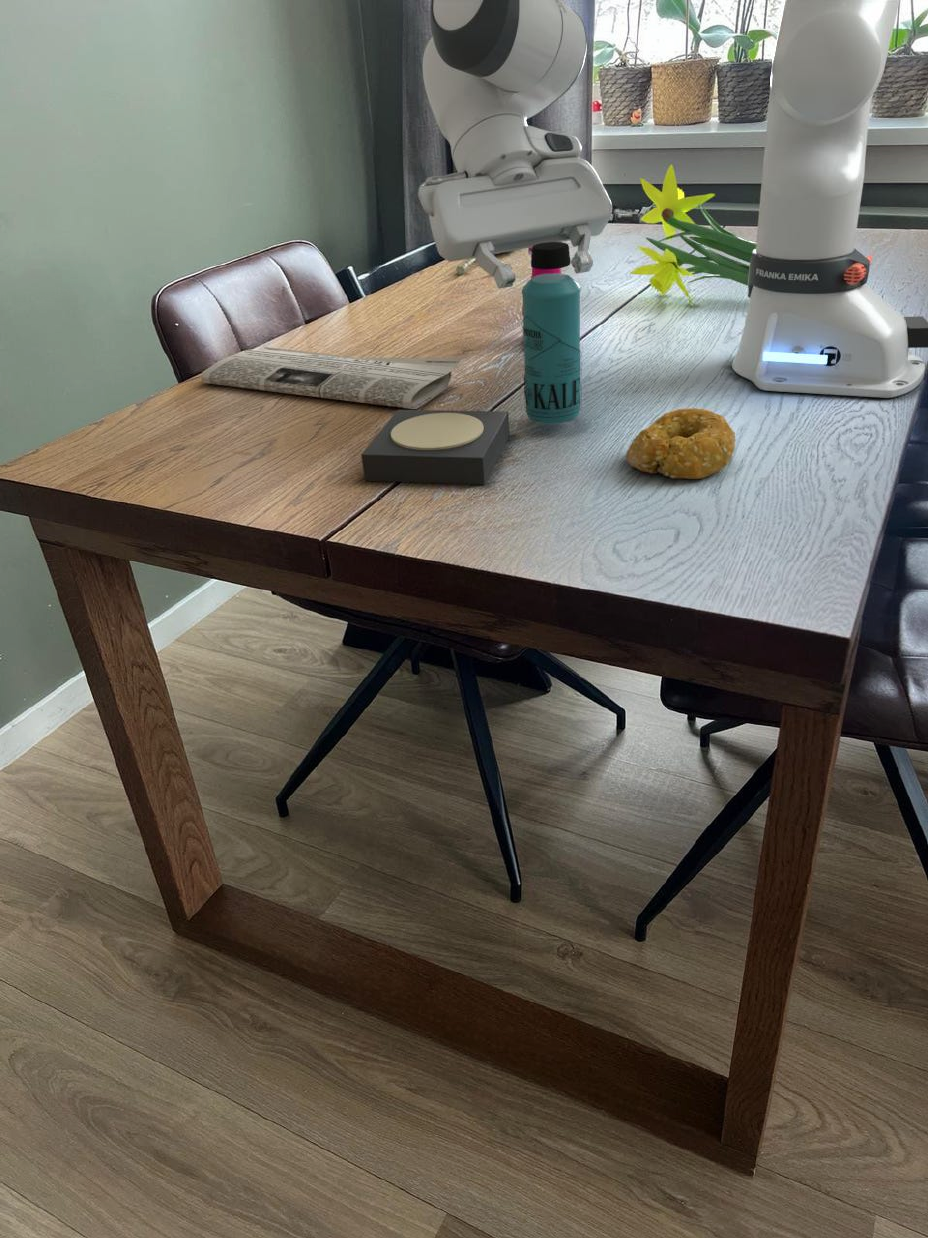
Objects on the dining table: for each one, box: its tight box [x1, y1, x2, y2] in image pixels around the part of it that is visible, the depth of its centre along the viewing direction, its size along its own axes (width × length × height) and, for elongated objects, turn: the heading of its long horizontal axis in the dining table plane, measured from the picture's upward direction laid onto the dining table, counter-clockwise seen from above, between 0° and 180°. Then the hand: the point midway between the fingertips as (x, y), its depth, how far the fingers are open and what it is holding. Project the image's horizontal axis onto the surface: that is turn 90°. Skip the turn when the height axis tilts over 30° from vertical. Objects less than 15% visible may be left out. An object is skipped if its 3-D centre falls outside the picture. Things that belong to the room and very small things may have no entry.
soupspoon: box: [455, 258, 476, 276], centre depth 183 cm, size 22×3×7 cm
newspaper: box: [200, 346, 462, 410], centre depth 127 cm, size 35×12×4 cm, turn 61°
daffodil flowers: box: [629, 163, 756, 307], centre depth 144 cm, size 17×15×35 cm
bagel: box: [625, 407, 736, 480], centre depth 96 cm, size 10×11×5 cm
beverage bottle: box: [521, 242, 583, 424], centre depth 104 cm, size 6×7×20 cm
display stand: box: [361, 409, 510, 486], centre depth 103 cm, size 13×13×3 cm
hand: (547, 276), depth 101 cm, fingers open, 8 cm apart
